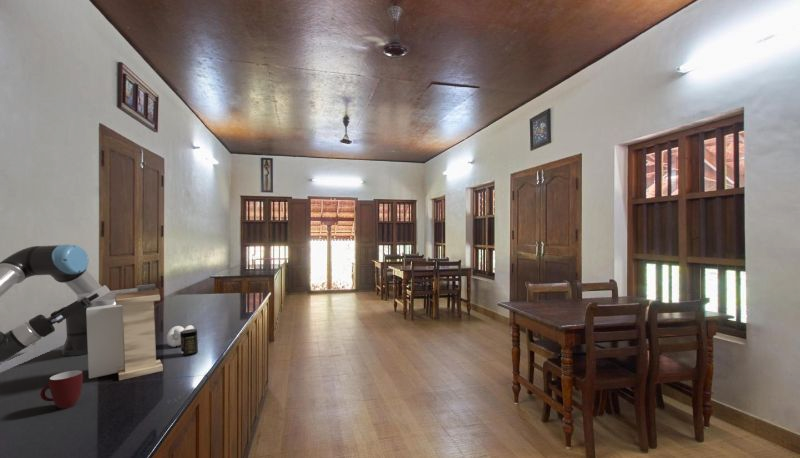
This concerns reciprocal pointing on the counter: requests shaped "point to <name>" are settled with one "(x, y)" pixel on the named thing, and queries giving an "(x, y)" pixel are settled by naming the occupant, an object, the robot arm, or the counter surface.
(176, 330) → the white twisted tube knot
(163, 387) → the counter surface
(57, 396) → the mug
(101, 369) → the block
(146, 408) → the counter surface
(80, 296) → the steel bar
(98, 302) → the robot arm
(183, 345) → the supplement container
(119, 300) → the stand
